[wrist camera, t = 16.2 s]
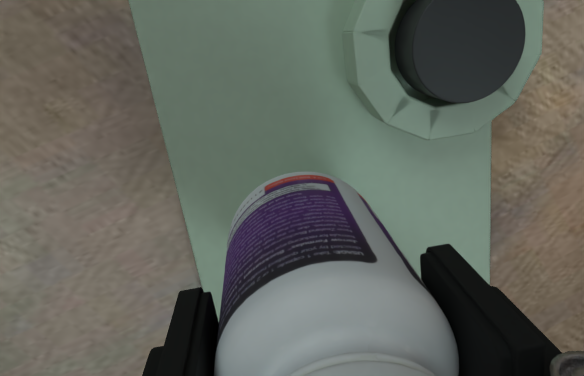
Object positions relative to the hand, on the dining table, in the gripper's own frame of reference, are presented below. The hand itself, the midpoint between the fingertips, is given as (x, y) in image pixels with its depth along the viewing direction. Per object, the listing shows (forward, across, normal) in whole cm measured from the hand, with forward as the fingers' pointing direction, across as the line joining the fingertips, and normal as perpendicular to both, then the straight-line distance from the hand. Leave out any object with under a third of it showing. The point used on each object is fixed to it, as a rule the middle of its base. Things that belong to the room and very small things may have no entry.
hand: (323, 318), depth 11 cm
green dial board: (+8, -2, -2) cm, 9 cm away
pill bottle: (+5, 0, 0) cm, 5 cm away
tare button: (+6, -6, -6) cm, 10 cm away
